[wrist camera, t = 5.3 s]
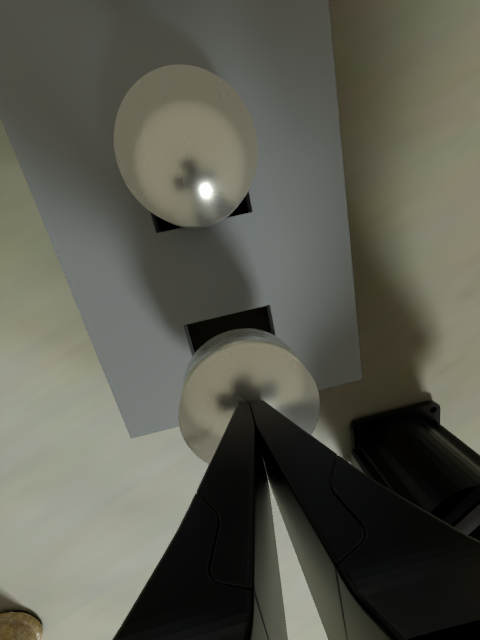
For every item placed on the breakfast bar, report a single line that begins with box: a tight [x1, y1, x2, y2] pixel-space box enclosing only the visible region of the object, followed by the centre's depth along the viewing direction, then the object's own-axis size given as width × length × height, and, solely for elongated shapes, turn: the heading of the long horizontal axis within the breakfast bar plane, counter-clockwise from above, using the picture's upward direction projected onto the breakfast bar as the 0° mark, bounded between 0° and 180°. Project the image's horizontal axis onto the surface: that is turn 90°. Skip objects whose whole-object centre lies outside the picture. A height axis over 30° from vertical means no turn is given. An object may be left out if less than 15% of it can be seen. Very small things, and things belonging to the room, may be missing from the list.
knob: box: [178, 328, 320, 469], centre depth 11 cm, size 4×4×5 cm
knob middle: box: [114, 64, 258, 228], centre depth 11 cm, size 4×4×5 cm
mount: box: [0, 0, 362, 438], centre depth 12 cm, size 12×22×4 cm, turn 12°
